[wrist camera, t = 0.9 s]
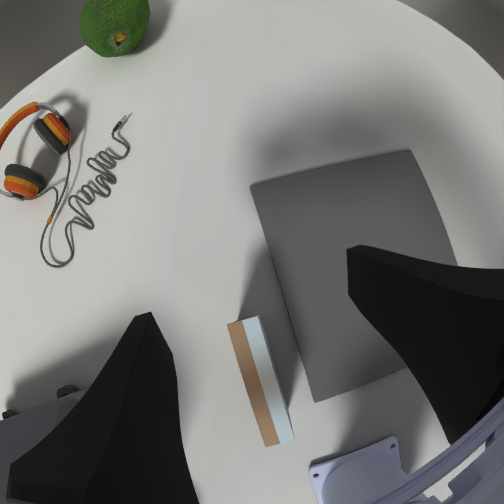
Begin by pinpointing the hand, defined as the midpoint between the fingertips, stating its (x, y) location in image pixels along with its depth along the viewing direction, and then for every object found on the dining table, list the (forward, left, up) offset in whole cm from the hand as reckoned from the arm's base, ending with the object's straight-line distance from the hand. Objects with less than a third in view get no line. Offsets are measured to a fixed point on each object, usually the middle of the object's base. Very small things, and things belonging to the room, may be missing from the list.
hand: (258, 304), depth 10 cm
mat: (+1, -10, -12) cm, 16 cm away
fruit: (+38, +8, -13) cm, 40 cm away
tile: (-4, +1, -12) cm, 13 cm away
